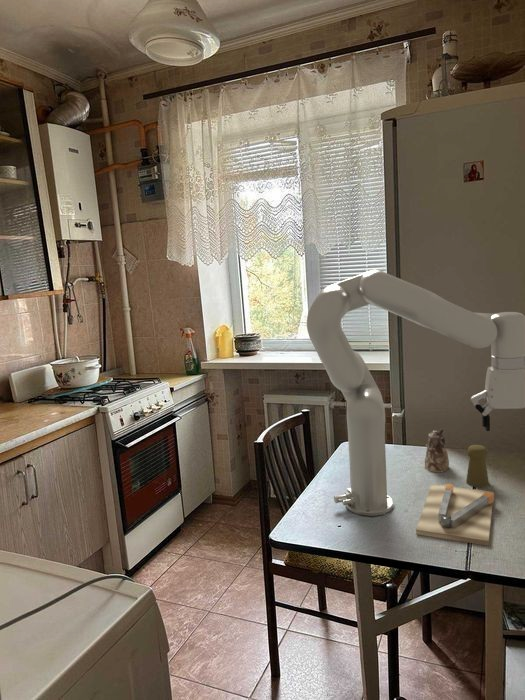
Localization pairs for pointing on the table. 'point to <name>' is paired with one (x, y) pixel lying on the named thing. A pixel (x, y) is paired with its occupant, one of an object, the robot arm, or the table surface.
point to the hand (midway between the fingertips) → (507, 429)
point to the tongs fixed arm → (446, 501)
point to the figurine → (436, 452)
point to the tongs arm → (467, 511)
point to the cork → (477, 466)
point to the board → (467, 531)
